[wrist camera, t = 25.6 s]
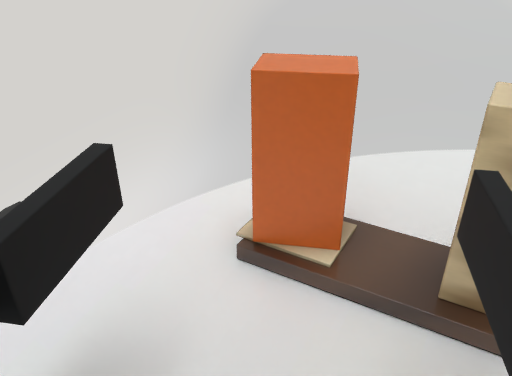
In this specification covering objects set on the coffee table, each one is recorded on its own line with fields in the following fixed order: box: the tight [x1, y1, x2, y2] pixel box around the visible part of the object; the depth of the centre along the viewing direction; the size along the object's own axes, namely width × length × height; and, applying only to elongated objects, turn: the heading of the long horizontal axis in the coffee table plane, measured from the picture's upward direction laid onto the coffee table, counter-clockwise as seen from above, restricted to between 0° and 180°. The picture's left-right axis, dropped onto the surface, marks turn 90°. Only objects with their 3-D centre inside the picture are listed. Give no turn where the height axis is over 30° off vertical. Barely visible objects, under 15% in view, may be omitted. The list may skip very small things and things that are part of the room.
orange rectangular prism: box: [251, 53, 359, 250], centre depth 24 cm, size 5×4×10 cm
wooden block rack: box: [236, 82, 512, 356], centre depth 21 cm, size 22×6×11 cm, turn 60°
